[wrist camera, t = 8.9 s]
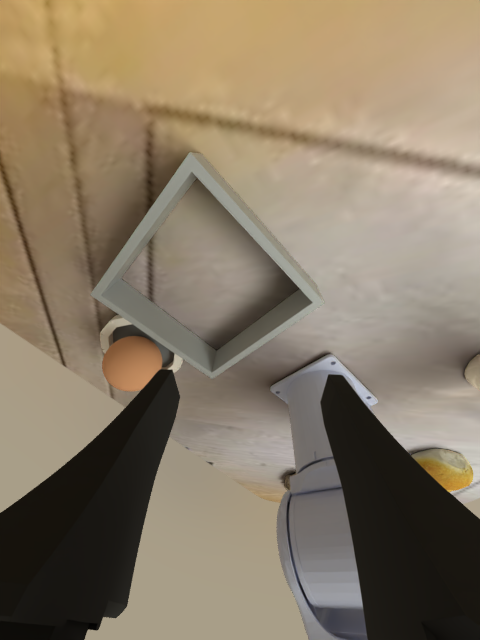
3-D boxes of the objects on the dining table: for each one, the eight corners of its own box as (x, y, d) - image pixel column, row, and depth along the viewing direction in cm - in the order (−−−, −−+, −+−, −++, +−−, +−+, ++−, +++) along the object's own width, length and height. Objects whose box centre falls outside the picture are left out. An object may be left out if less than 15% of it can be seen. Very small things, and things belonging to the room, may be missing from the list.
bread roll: (382, 469, 36) (394, 500, 33) (422, 441, 31) (442, 475, 28) (429, 479, 37) (446, 511, 33) (476, 454, 32) (501, 488, 28)
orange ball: (179, 347, 23) (161, 387, 19) (151, 369, 25) (131, 410, 21) (136, 316, 21) (107, 352, 17) (110, 343, 23) (79, 381, 19)
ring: (200, 345, 23) (198, 354, 22) (157, 380, 27) (153, 388, 26) (132, 294, 20) (125, 301, 19) (93, 340, 24) (86, 348, 23)
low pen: (316, 284, 19) (325, 303, 16) (216, 356, 24) (212, 379, 22) (201, 153, 14) (189, 152, 12) (111, 278, 20) (90, 294, 17)
